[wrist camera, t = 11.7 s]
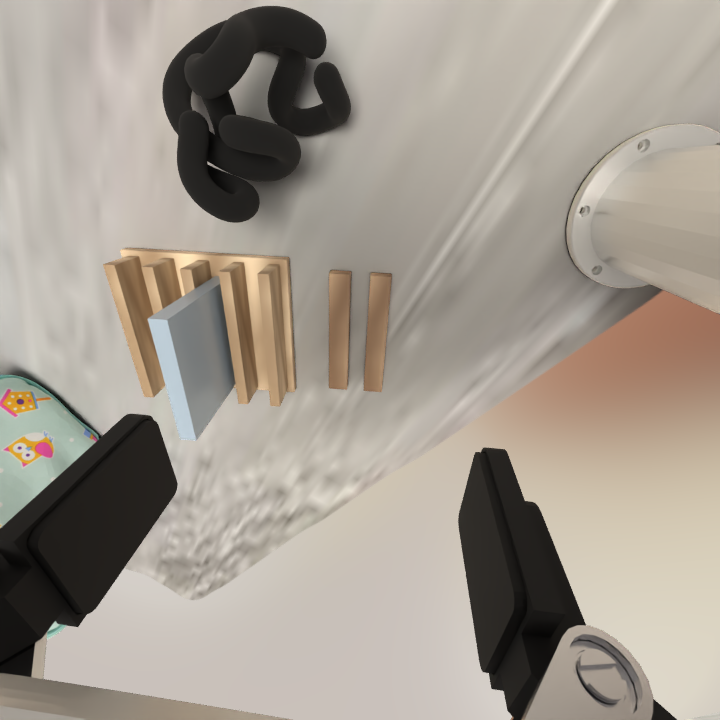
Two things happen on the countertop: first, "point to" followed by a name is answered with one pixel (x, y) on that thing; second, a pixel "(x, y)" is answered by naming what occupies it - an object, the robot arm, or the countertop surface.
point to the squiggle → (240, 133)
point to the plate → (194, 356)
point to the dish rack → (241, 305)
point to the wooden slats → (341, 326)
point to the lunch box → (34, 445)
